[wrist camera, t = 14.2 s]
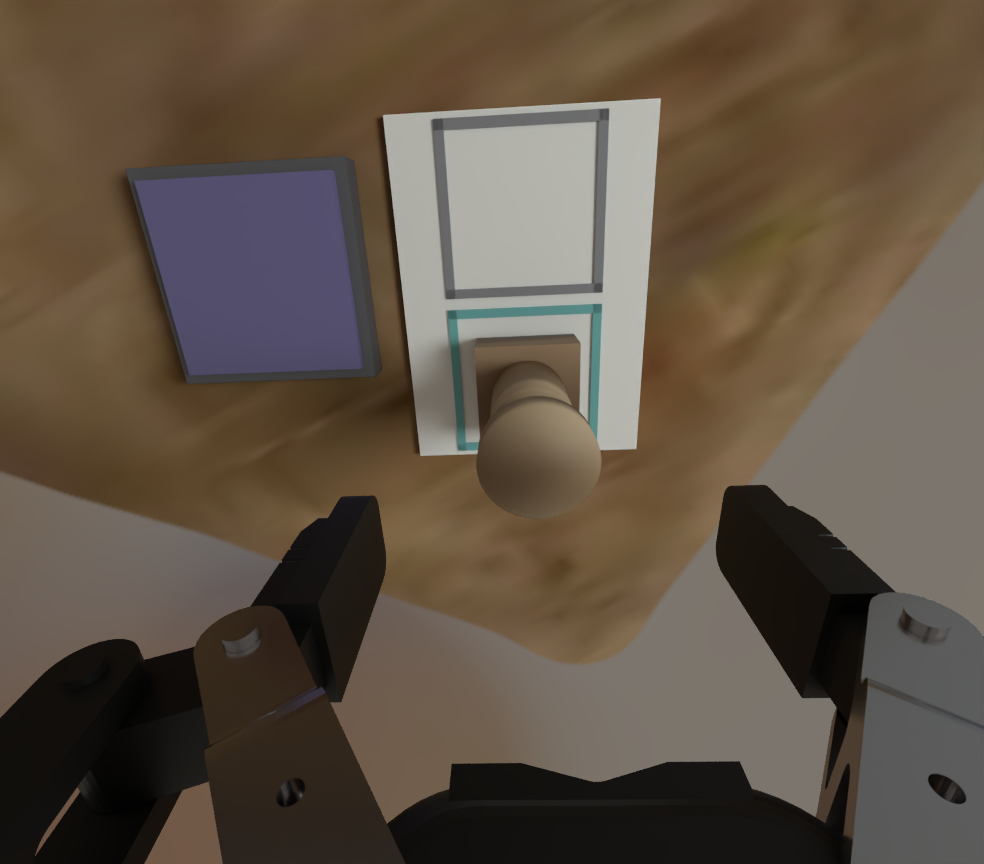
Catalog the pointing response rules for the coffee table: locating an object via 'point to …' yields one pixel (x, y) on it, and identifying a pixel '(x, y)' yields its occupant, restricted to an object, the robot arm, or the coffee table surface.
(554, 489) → the stamp
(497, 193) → the sheet
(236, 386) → the coffee table surface
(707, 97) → the coffee table surface
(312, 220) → the ink pad
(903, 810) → the robot arm
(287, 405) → the coffee table surface
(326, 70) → the coffee table surface
